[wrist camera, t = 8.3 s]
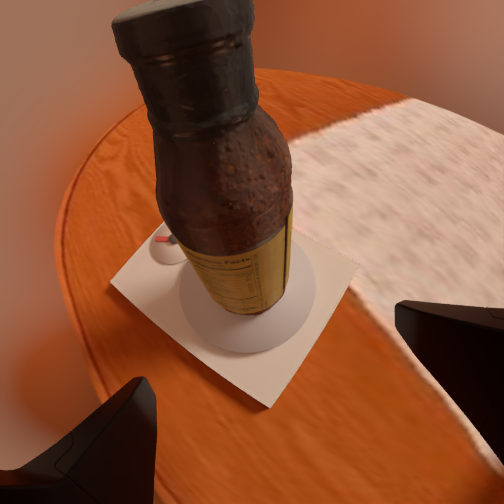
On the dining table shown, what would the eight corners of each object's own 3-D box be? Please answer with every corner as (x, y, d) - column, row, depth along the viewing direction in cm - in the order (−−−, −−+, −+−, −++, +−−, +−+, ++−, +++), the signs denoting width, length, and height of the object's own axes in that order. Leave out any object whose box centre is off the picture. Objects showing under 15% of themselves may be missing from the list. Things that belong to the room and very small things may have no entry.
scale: (270, 407, 19) (270, 408, 17) (115, 287, 25) (105, 278, 23) (356, 270, 24) (362, 259, 23) (204, 190, 30) (200, 178, 29)
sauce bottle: (237, 237, 25) (187, -13, 7) (302, 270, 22) (331, -16, 5) (192, 298, 22) (49, 44, 5) (259, 339, 20) (190, 4, 3)
